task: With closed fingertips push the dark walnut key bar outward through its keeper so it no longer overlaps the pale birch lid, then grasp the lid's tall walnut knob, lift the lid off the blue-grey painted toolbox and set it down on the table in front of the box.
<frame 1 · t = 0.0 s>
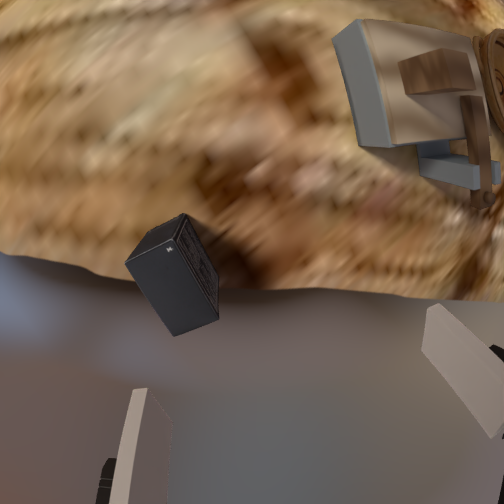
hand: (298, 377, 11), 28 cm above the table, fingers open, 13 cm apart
lid: (436, 81, 25), point 8 cm above the table, touching toolbox
key: (482, 152, 26), point 11 cm above the table, slide at 0.0 cm
toolbox: (402, 87, 33), on the table
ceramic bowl: (494, 89, 33), on the table
small box: (182, 255, 39), on the table
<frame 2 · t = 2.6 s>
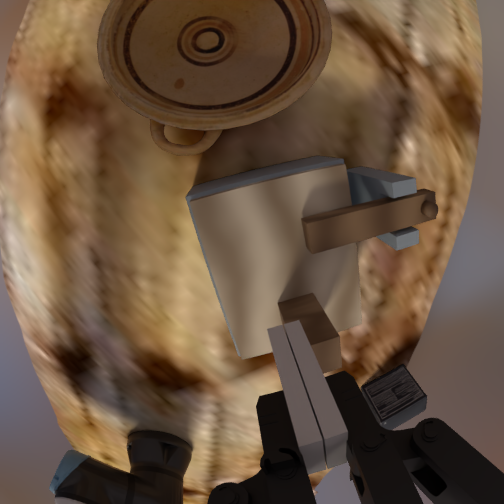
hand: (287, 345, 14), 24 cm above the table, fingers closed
lid: (287, 268, 30), point 8 cm above the table, touching toolbox
key: (378, 219, 26), point 11 cm above the table, slide at 0.0 cm
toolbox: (274, 243, 38), on the table
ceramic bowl: (214, 44, 28), on the table
small box: (383, 382, 52), on the table
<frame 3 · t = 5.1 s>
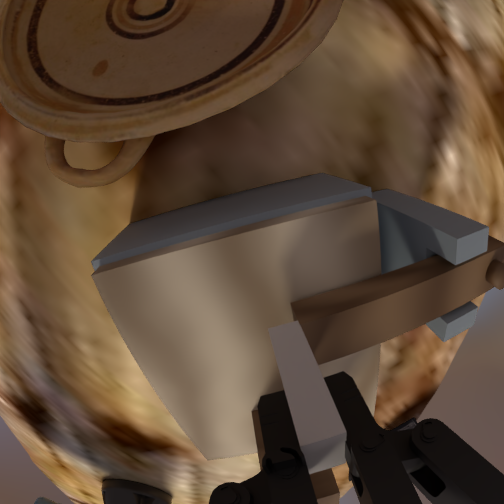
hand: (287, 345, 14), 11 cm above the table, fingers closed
lid: (268, 365, 18), point 8 cm above the table, touching toolbox
key: (425, 298, 14), point 11 cm above the table, slide at 0.1 cm, touching gripper
toolbox: (253, 305, 25), on the table
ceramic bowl: (162, 8, 16), on the table
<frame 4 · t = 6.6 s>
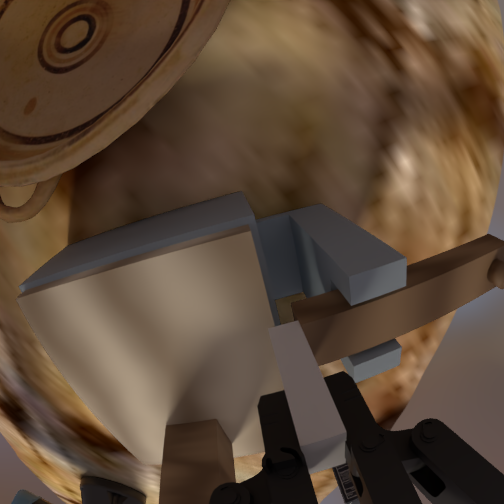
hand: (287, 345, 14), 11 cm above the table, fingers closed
lid: (175, 385, 18), point 8 cm above the table, touching toolbox
key: (427, 298, 14), point 11 cm above the table, slide at 6.7 cm, touching gripper
toolbox: (184, 322, 25), on the table
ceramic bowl: (88, 36, 15), on the table
small box: (357, 449, 39), on the table
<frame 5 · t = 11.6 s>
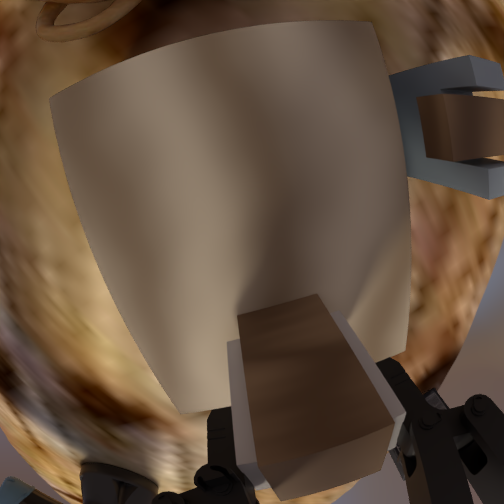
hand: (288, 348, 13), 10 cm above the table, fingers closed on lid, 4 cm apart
lid: (260, 239, 14), point 8 cm above the table, touching gripper, toolbox
toolbox: (245, 205, 21), on the table
small box: (406, 412, 35), on the table
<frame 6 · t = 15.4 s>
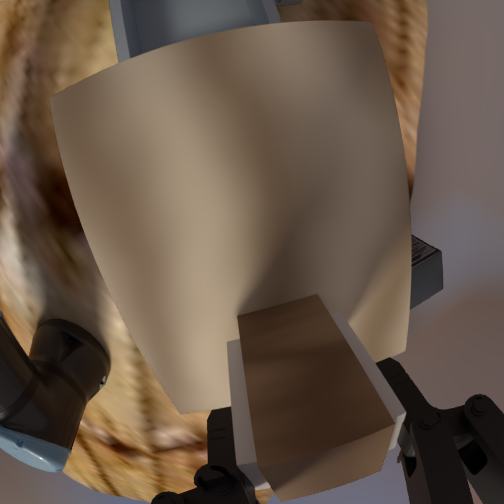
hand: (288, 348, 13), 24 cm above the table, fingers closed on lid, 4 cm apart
lid: (260, 239, 14), point 22 cm above the table, touching gripper
toolbox: (193, 22, 26), on the table
small box: (373, 257, 40), on the table
when the fingers open (4 cm above the table, at t = 19.2 s): lid drops 2 cm, on the table.
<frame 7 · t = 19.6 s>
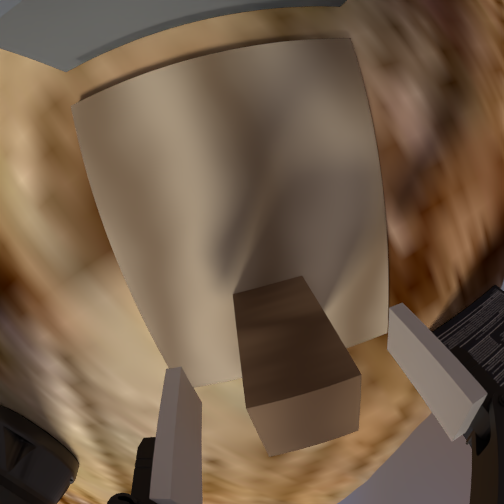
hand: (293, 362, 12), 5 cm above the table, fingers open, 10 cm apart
lid: (252, 228, 16), on the table
small box: (459, 332, 21), on the table
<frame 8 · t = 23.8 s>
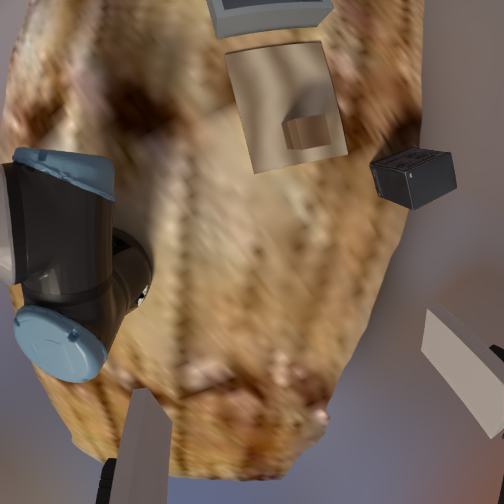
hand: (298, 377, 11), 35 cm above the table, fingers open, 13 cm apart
lid: (287, 103, 39), on the table
small box: (395, 171, 44), on the table
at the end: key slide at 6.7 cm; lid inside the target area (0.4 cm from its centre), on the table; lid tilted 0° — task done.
